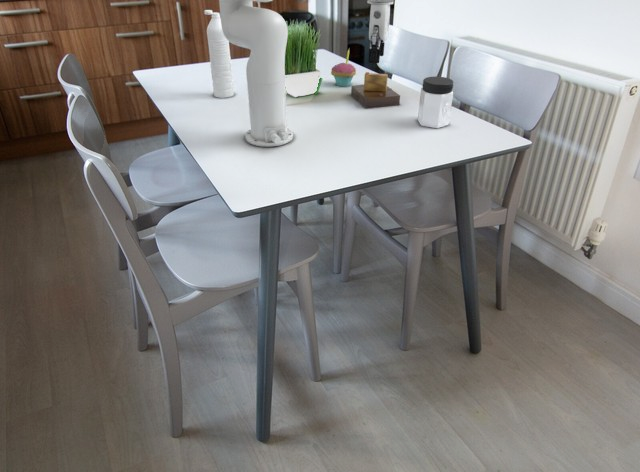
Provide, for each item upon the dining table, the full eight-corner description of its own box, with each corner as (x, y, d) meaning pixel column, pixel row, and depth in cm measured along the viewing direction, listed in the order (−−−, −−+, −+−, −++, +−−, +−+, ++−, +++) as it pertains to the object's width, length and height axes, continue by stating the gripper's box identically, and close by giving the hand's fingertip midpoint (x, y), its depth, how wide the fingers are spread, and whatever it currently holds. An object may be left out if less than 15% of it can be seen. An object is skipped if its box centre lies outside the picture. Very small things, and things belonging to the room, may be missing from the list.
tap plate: (399, 105, 156) (400, 95, 154) (366, 108, 153) (366, 98, 151) (382, 91, 167) (383, 82, 165) (350, 94, 164) (351, 85, 163)
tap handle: (386, 90, 158) (387, 73, 156) (385, 91, 157) (387, 75, 154) (364, 88, 160) (365, 72, 157) (363, 90, 158) (364, 73, 155)
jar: (431, 130, 138) (437, 86, 131) (411, 121, 143) (415, 79, 137) (454, 123, 142) (461, 81, 136) (433, 115, 148) (439, 74, 141)
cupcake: (346, 79, 179) (347, 44, 172) (360, 85, 173) (362, 49, 166) (326, 83, 175) (326, 47, 169) (339, 89, 169) (340, 52, 162)
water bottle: (237, 95, 164) (230, 12, 150) (220, 99, 160) (211, 15, 146) (223, 89, 169) (215, 9, 155) (206, 93, 166) (196, 11, 152)
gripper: (390, 2, 136) (384, 66, 145) (397, -6, 150) (391, 54, 159) (362, 0, 137) (359, 64, 146) (372, -7, 152) (368, 52, 161)
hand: (376, 59), depth 153 cm, fingers open, 9 cm apart
